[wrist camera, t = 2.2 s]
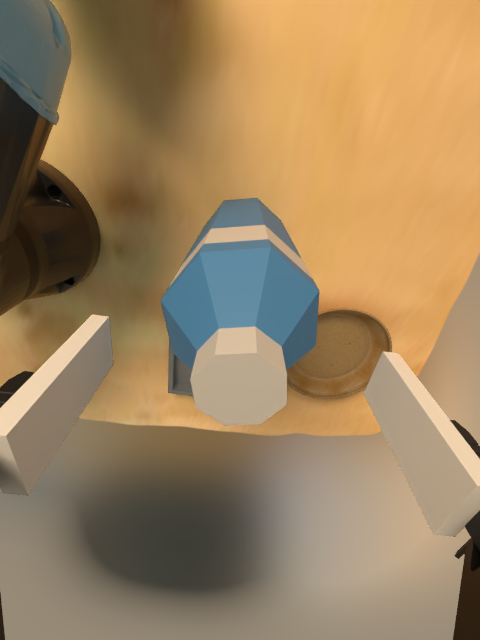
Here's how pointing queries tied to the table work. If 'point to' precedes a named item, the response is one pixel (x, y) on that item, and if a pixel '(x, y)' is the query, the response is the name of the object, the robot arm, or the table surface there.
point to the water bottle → (241, 313)
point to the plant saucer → (340, 355)
